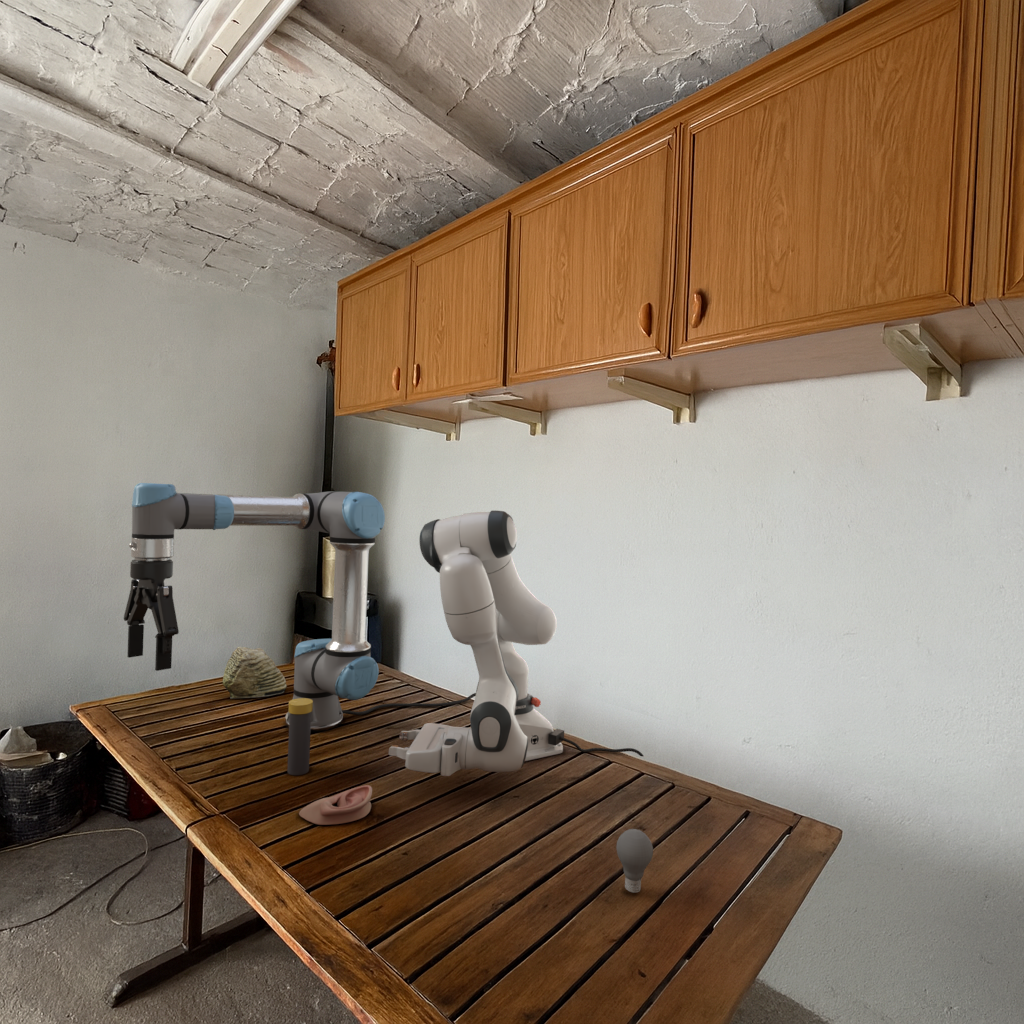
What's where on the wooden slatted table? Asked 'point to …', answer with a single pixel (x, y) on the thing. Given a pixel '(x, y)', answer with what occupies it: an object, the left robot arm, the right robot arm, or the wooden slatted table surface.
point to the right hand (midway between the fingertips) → (395, 742)
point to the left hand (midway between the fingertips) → (148, 662)
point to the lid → (300, 706)
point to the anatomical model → (339, 807)
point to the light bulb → (634, 857)
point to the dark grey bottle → (299, 743)
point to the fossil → (252, 674)
